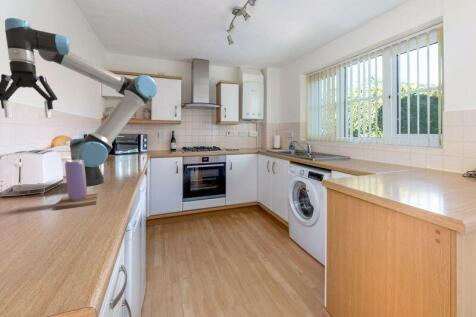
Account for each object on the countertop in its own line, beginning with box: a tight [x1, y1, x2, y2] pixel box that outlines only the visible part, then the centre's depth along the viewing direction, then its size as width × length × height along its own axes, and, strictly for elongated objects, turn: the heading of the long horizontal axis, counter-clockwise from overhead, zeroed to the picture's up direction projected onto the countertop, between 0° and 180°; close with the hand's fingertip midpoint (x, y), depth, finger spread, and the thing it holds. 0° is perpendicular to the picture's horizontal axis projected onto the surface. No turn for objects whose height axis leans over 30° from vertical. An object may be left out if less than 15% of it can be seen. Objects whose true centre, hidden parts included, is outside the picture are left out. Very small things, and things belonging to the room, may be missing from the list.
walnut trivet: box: [55, 193, 99, 211], centre depth 88 cm, size 12×12×1 cm
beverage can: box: [64, 159, 88, 201], centre depth 88 cm, size 6×6×15 cm
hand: (29, 117), depth 94 cm, fingers open, 13 cm apart
